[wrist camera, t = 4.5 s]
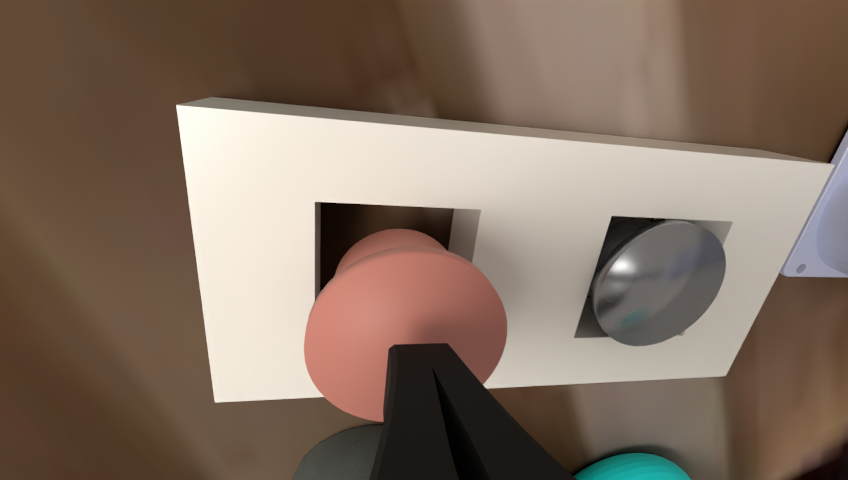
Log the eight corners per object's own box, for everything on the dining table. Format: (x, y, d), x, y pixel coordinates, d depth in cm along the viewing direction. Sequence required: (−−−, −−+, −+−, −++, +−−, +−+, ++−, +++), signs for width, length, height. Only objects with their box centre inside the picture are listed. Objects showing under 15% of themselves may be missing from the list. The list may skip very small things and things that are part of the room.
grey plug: (682, 201, 17) (748, 227, 14) (643, 303, 19) (694, 344, 16) (574, 194, 16) (622, 221, 13) (545, 304, 18) (581, 348, 15)
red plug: (485, 213, 12) (525, 256, 9) (461, 347, 14) (489, 416, 11) (313, 206, 11) (302, 252, 8) (313, 352, 13) (304, 428, 10)
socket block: (758, 149, 17) (834, 164, 14) (676, 336, 21) (725, 376, 18) (212, 96, 13) (176, 104, 10) (236, 347, 16) (215, 402, 14)
